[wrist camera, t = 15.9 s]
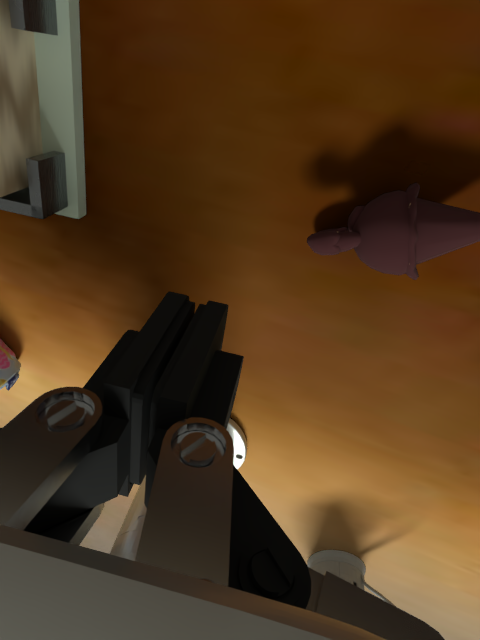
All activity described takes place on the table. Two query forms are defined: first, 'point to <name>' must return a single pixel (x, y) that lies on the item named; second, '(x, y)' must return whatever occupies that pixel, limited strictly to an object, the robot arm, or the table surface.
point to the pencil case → (8, 366)
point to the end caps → (49, 168)
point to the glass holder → (342, 568)
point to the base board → (63, 100)
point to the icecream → (400, 232)
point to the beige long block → (17, 104)
